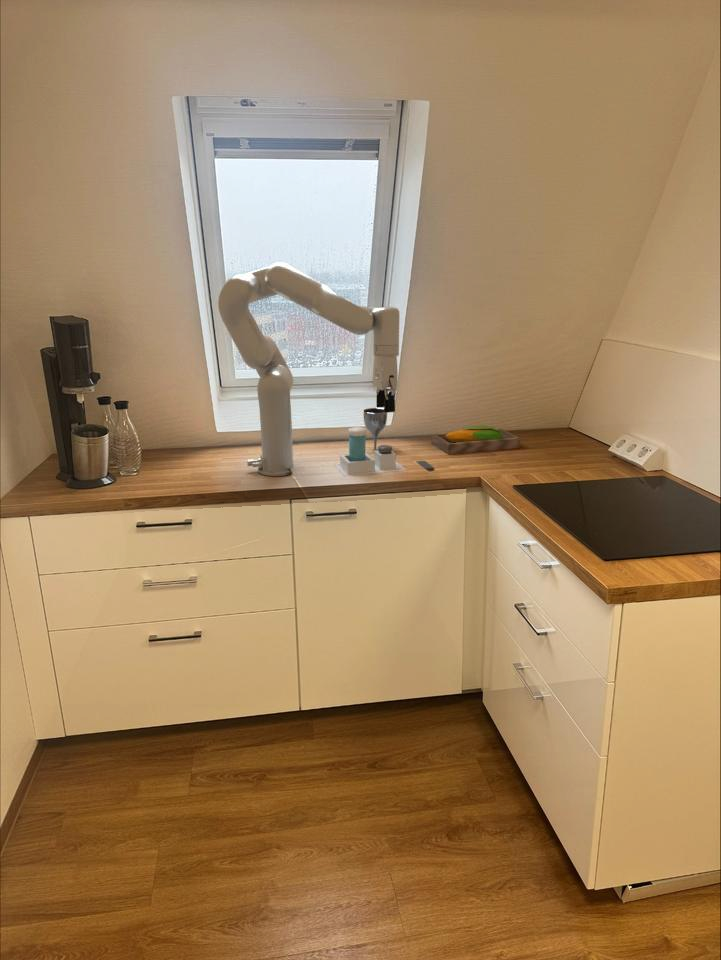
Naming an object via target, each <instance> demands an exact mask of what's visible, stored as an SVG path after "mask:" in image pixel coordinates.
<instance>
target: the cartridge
mask: <svg viewBox="0 0 721 960" xmlns="http://www.w3.org/2000/svg"><path fill="white" fill-rule="evenodd" d="M347 430H348V450H349V451H348V455H349V461H350V462H353V461H364V460H365V453H366V436H367V428H366V427H360V426H356V427H355V426H354V427H349V428H348V429H347Z"/></svg>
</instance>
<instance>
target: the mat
mask: <svg viewBox="0 0 721 960" xmlns="http://www.w3.org/2000/svg"><path fill="white" fill-rule="evenodd" d="M414 462H415V463H417V464H418V465H419V466H421V467H422V468H423V469H425V470H426V471H427V470H430V471H435V467H434V466H433V465H431V464H430V463H429V462H427V461H426V460H416V461H414Z"/></svg>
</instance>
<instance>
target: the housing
mask: <svg viewBox="0 0 721 960" xmlns="http://www.w3.org/2000/svg"><path fill="white" fill-rule="evenodd" d="M396 457H397V454H396V453H395V452H394V451H393V450H392V452H389V454H381V452H379V451H378V450H374V458H373V457H372V456H370V454H368V453H367V452H365V460H364V461H353V462H350V461H349V454H340V456H339V460H340V461H339V463H340V464H333V466H334V467H335V468H336V470H337V471H338V472H339V473H340V474H341V475H342V476H343V477H353V476H363V475H374V474H384V473H396V472H402V471H407V468H405V467H404V466H402V465H401V464H400V463H398V462H397V461H396V460H397V459H396Z"/></svg>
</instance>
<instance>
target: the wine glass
mask: <svg viewBox="0 0 721 960" xmlns="http://www.w3.org/2000/svg"><path fill="white" fill-rule="evenodd" d="M387 420H388V413H385V412H384V407H368V408H365V409H363V422H364V426H365V429H366V430H367V431H368V432H369V433H370V434H371V436H372V439H373V451H377V441H378V437H379V435H380V434H381V433H382V432H383V430H384V429H385V427H386V426H387V422H388V421H387Z"/></svg>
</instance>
